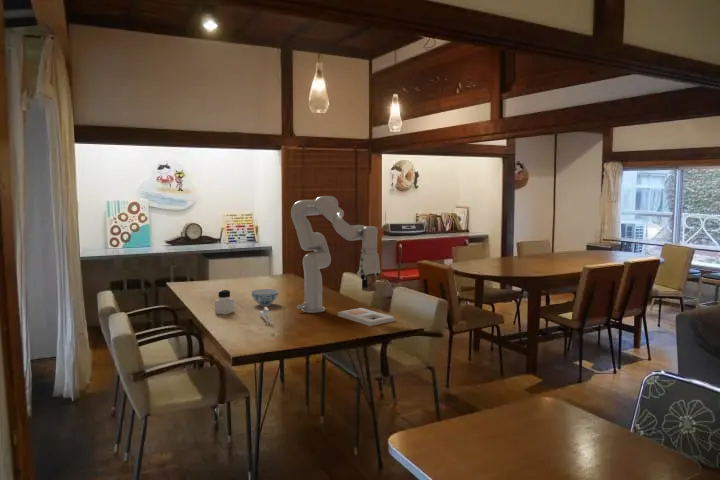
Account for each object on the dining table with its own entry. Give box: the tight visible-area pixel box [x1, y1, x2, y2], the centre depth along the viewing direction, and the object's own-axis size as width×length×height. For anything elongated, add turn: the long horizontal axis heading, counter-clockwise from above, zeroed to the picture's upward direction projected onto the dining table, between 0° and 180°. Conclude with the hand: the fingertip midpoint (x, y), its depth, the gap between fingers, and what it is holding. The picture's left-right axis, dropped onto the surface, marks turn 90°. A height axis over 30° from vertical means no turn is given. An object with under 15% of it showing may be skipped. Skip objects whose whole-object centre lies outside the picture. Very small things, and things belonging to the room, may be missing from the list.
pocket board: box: [337, 307, 395, 327], centre depth 273 cm, size 16×26×2 cm, turn 39°
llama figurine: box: [258, 306, 272, 326], centre depth 266 cm, size 2×11×18 cm
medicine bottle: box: [214, 289, 235, 315], centre depth 283 cm, size 7×7×12 cm
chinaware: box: [251, 288, 279, 307], centre depth 302 cm, size 15×15×8 cm
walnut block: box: [361, 274, 377, 293], centre depth 269 cm, size 5×5×8 cm
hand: (368, 286), depth 269 cm, fingers closed on walnut block, 5 cm apart
